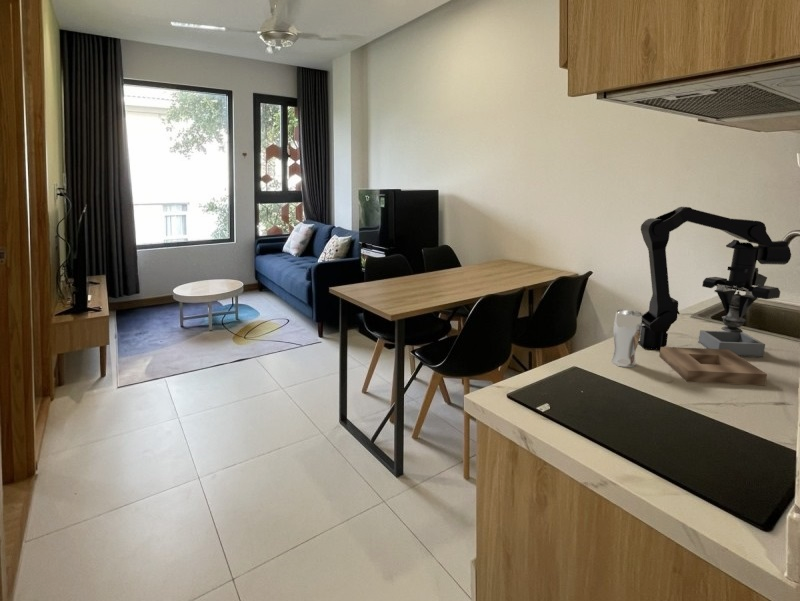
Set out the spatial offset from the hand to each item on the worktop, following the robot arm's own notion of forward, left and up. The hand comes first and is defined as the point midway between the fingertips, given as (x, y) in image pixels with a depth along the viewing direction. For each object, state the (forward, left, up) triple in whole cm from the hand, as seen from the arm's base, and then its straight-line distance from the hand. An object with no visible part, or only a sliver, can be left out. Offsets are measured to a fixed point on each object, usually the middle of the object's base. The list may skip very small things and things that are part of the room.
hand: (734, 315), depth 136 cm
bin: (0, 0, -11) cm, 11 cm away
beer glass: (-35, -16, -11) cm, 40 cm away
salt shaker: (0, 0, -5) cm, 5 cm away
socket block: (-14, -18, -11) cm, 25 cm away
